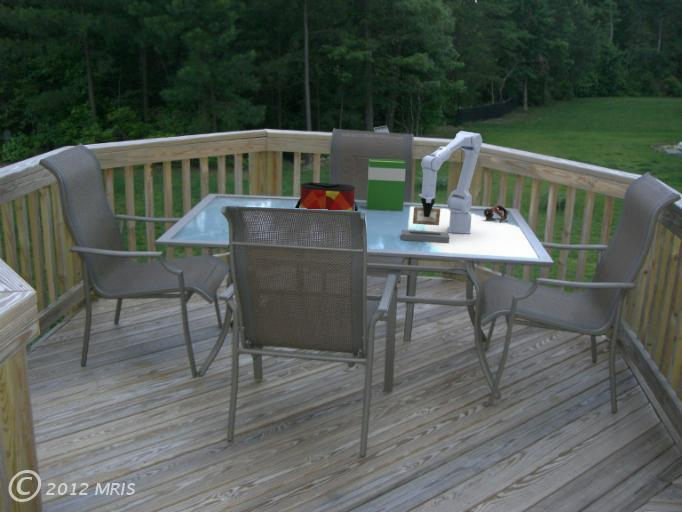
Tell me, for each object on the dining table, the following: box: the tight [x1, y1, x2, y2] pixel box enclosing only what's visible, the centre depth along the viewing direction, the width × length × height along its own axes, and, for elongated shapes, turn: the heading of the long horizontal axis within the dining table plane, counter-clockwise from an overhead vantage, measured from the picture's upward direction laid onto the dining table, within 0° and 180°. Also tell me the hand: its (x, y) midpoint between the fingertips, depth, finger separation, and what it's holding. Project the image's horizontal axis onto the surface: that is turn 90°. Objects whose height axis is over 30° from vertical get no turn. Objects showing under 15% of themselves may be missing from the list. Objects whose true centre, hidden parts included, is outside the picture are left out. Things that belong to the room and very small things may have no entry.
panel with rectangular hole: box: [400, 229, 450, 244], centre depth 317 cm, size 20×8×2 cm, turn 86°
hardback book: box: [365, 158, 407, 212], centre depth 366 cm, size 18×7×24 cm, turn 90°
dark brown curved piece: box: [483, 204, 509, 223], centre depth 355 cm, size 12×10×8 cm
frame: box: [412, 206, 441, 226], centre depth 316 cm, size 11×2×7 cm, turn 86°
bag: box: [294, 181, 359, 211], centre depth 344 cm, size 30×14×16 cm, turn 84°
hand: (426, 216), depth 316 cm, fingers closed on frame, 2 cm apart
